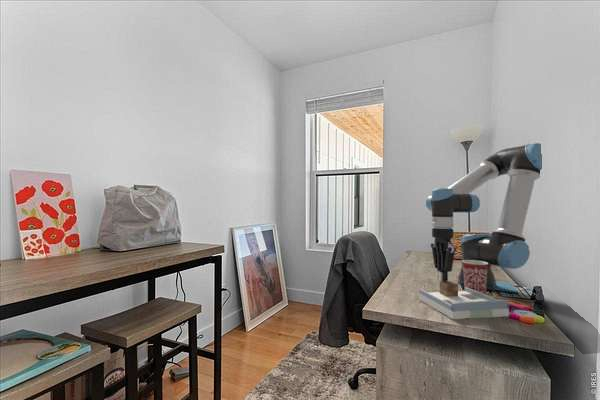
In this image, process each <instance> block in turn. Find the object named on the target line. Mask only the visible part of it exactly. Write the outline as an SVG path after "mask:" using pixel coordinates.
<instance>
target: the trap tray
mask: <svg viewBox="0 0 600 400" xmlns="http://www.w3.org/2000/svg"><path fill="white" fill-rule="evenodd" d="M418 300H419V301H421V302H422V303H424V304H426V305H428V306H430V307H431V308H433V310H436V311H438V312H439V311H440V313H441V312H442V313H441V314H443V315H444V314H445V315H444V316H446V315H447V316H446V317H448V318H449V319H452V320H464V319H465V318H470V319H483V318H486V319H487V318H497V317H498V318H499V317H500V318H501V317H509V316H510V300H508V299H501V300H500V299H497V298H495V297H493V296H489V295H487V294H486V295H485V294H483V293H480V292H478V291H475V290H473V289H470V288H467V287H464V290H458V296H452V297H447V296H444V295H442V294H440V291H436V292H434V291H433V292H427V291H425V290H424V289H421V288H419V289H418ZM465 320H466V319H465Z"/></svg>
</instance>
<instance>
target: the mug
mask: <svg viewBox="0 0 600 400" xmlns="http://www.w3.org/2000/svg"><path fill="white" fill-rule="evenodd" d="M462 262H463V272H464V285H463V287H464V288H465V287H467V288H470V289H473V290H475V291H478V292H480V293H483V294H485V295H487V288H486V285H487V268H488V263H487V262H484V261H477V260H464V261H462V260H461V263H462Z"/></svg>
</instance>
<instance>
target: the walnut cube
mask: <svg viewBox="0 0 600 400" xmlns="http://www.w3.org/2000/svg"><path fill="white" fill-rule="evenodd" d="M439 282H440V288H439V292H440V294H442V295H444V296H447V297H452V296H458V291H459V284H458V282H454V281H451V280H448V281H439V280H438V283H439Z"/></svg>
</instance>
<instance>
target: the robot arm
mask: <svg viewBox="0 0 600 400" xmlns="http://www.w3.org/2000/svg"><path fill="white" fill-rule="evenodd" d="M541 144H542V143H540V142H538V143H537V142H536V143H535V142H534V143H527V144H524V145H520V146H514V147H510V148H505V149H500V150H499V151H497V152H495V153H494V154H491V155H490V156H488V157H487V158H485V159H484V160H482V161H481V162H480V163H479V164H478V166H477V167H476V168H475V169H473V170H472V171H470V172H469V173H468V174H466V175H465V176H463V177H461V178H459V179H458V180H457V181H456V182H454V183H452V184H450V186H448V187H444V188H443V187H441V188H438V187H437V188H434V189H432V190H431V191H432V192H431V195H429V196H428V197H427V198H426V200H425V206H426V208H427V210H428V211H430V212H431V218H432V219H431V223H432V224H431V225H432V226H431V227H432V228H431V236H432V238H434V242H433V243H431V244H430V247H431V250H432V251H431V252H432V258H433V265H434V268H435V269H436V270H437V271H438V272H437V273H438V274H437V275H438V276H437V277H438V289H440V282H439V281H449V280H448V279H449V277H448V276H449V275H448V273H449V272H453V266H454V259H455V253H456V252H457V247H454V246H452V241H451V239H453V238H454V228H453V227H454V213H468V214H469V213H475V212H477V211H478V210H479V209H480V206H481V199H480V197H478V195H476V194H472V192H474V191H475V190H477V189H478V188H479V187H481V186H483V184H486V183H487V182H488V181H489V180H495V179H497V178H498V177H500V176H504V175H508V177H509V180H508V185H507V188H506V193H505V195H504V196H505V197H504V201H503V205H502V209H501V212H500V217H499V220H498V225H497V228H496V229H494V230H493V231H491V234H490V233H473V234H463V235H462V236H461V242H460V245H461V268H460V270H459V274H458V276H457V284H458V283H459V284H460V285H462V284H464V272H463V262H462V261H464V260H477V261H484V262H487V263H488V268H487V285H486V287H494V286H496V287H497V280H496V278H495V275H494V272H493V269H492V265H493V266H497V267H501V268H504V269H511V270H516V269H520V268H521V267H524V265H526V264H527V262H528V260H529V259H530V254H531V251H530V247H529V245H528V244H527V242H526V238H525V237H524V235H523V231H524V226H525V223H526V217H527V214H528V210H529V205H530V203H531V199H532V194H533V189H534V185H535V181H536V180H537V179H540V178H541V176H540V170H541V169H542V154H541ZM539 177H540V178H539ZM494 288H495V287H494Z"/></svg>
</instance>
